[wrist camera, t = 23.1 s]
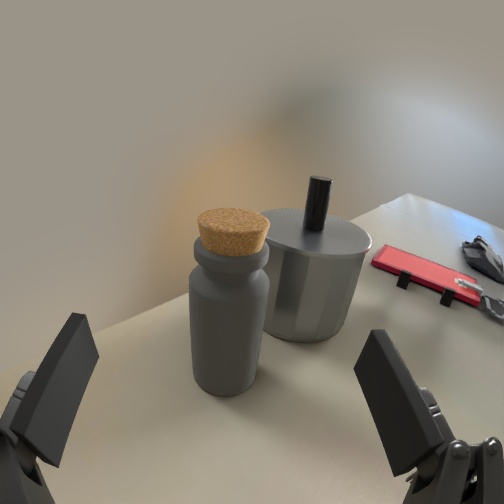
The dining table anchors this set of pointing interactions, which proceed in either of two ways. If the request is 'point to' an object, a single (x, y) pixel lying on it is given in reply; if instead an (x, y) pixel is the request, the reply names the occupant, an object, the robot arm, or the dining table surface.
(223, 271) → the bottle
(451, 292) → the red board with handle
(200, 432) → the dining table surface
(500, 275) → the dark slate chunk
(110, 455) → the dining table surface
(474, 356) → the dining table surface
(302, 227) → the pot lid
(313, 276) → the pot
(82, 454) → the dining table surface
